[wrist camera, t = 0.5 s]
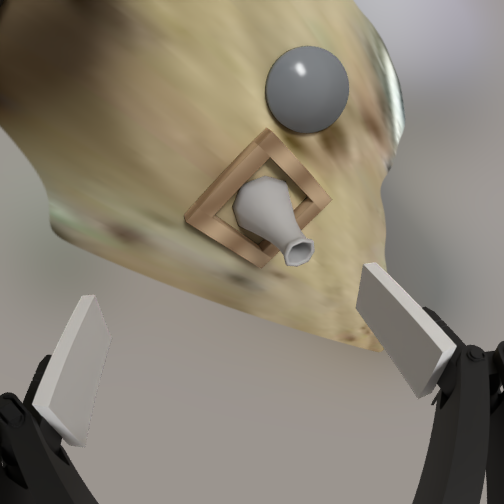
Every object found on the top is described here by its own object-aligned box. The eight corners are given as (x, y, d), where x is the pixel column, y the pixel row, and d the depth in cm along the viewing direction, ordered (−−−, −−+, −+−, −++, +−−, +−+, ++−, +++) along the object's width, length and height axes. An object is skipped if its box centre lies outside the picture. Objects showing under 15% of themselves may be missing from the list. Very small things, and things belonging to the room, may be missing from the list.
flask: (284, 224, 38) (323, 275, 31) (230, 231, 36) (260, 288, 28) (292, 173, 33) (340, 217, 26) (233, 176, 31) (269, 226, 24)
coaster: (256, 54, 23) (258, 54, 23) (340, 42, 24) (343, 42, 24) (274, 141, 30) (277, 143, 30) (348, 121, 31) (351, 122, 31)
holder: (183, 214, 32) (186, 221, 31) (266, 127, 29) (272, 131, 28) (257, 261, 40) (261, 268, 39) (326, 194, 37) (332, 199, 36)
